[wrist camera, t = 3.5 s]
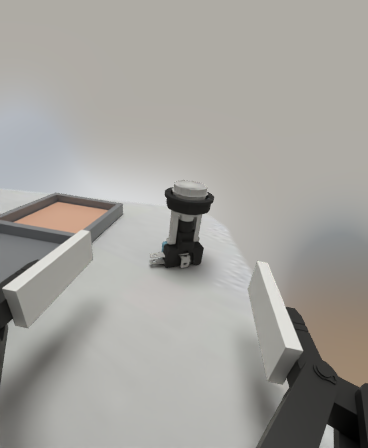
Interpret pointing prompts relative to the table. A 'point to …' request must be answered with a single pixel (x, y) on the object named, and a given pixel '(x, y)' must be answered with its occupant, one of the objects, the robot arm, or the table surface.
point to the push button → (184, 224)
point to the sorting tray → (49, 227)
